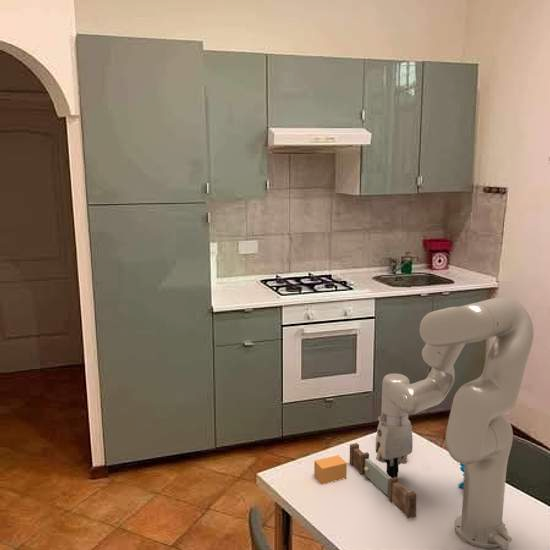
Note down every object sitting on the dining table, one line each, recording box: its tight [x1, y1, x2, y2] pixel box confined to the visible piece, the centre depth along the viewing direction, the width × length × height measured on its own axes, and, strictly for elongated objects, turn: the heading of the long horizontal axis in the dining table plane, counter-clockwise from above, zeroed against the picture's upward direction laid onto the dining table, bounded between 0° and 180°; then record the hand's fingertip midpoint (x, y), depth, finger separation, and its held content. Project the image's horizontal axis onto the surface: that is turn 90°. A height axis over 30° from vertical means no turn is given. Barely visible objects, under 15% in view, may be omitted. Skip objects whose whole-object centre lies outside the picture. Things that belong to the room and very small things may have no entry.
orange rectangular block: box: [313, 455, 348, 485], centre depth 171 cm, size 5×8×5 cm, turn 113°
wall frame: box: [349, 442, 418, 519], centre depth 164 cm, size 30×2×6 cm, turn 23°
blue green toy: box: [457, 463, 465, 489], centre depth 165 cm, size 11×6×10 cm
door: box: [364, 457, 391, 497], centre depth 165 cm, size 13×2×5 cm, turn 23°
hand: (392, 475), depth 169 cm, fingers closed
